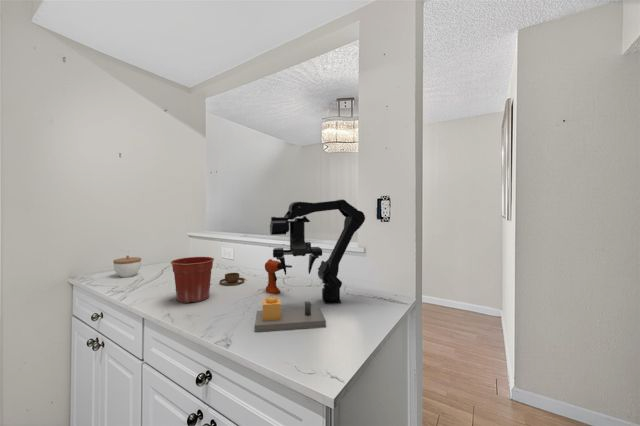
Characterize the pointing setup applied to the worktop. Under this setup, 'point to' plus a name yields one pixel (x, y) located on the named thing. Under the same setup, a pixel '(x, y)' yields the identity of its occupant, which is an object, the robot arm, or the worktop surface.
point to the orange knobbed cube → (271, 308)
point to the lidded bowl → (127, 266)
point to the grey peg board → (292, 319)
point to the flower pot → (192, 278)
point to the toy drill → (273, 275)
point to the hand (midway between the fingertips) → (297, 274)
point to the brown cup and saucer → (231, 279)
